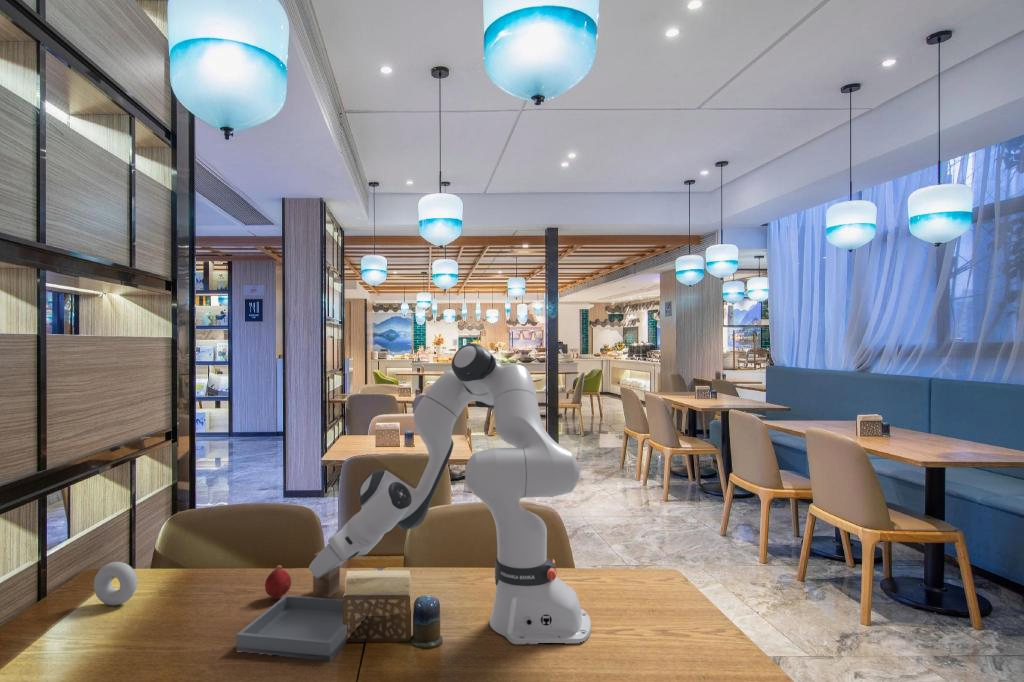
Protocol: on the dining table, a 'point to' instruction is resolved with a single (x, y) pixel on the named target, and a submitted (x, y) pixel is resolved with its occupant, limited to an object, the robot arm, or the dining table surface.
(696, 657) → the dining table surface
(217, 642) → the dining table surface
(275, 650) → the tray
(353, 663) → the dining table surface
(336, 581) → the walnut block
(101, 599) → the donut
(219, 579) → the dining table surface
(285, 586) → the onion
